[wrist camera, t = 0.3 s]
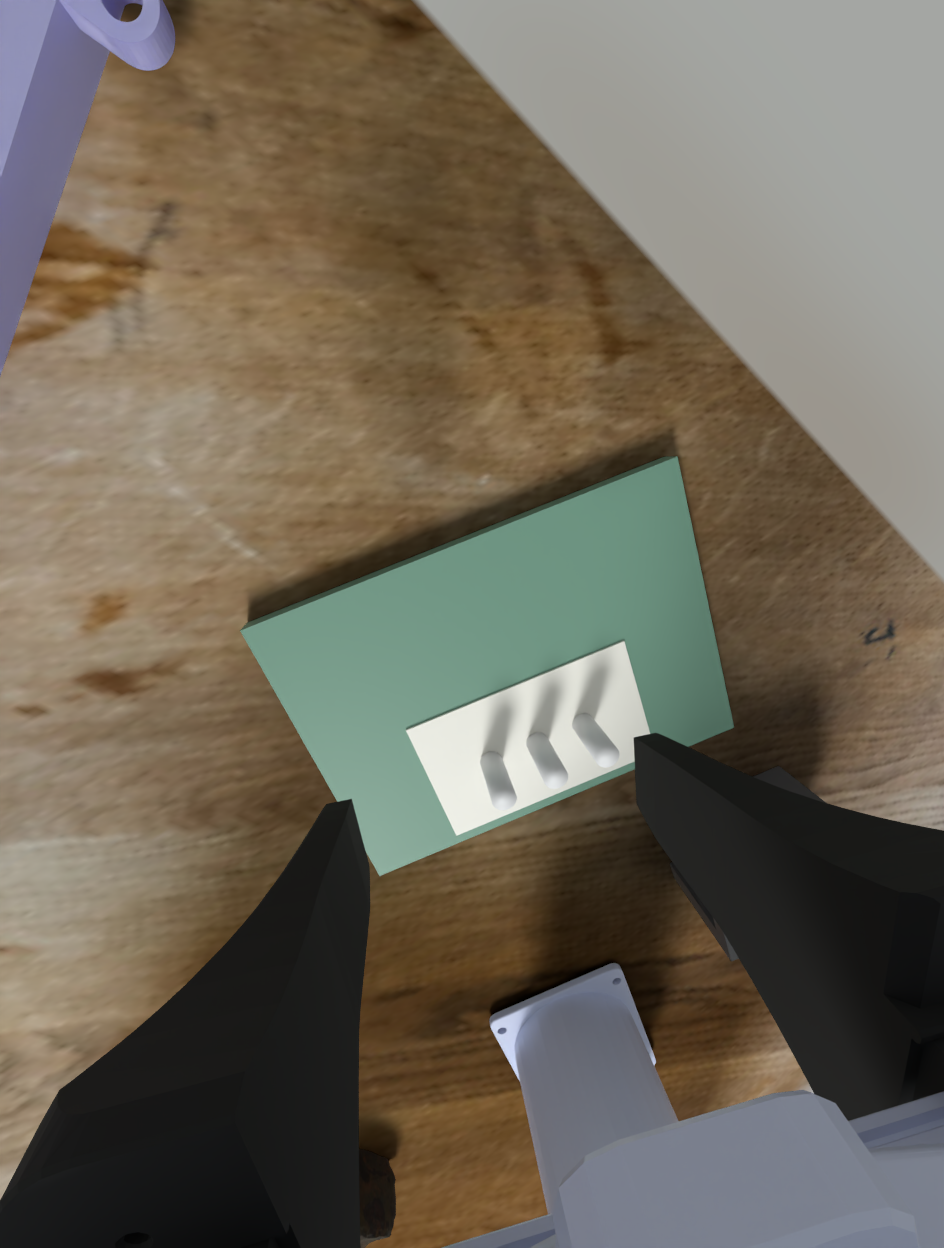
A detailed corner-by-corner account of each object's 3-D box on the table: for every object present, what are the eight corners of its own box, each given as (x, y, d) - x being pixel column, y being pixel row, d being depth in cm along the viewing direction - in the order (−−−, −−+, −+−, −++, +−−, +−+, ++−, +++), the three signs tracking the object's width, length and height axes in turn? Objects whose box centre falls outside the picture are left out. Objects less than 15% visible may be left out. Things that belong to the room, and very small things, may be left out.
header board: (721, 717, 25) (776, 760, 22) (380, 859, 25) (378, 928, 21) (664, 456, 21) (721, 455, 17) (247, 622, 20) (216, 657, 17)
